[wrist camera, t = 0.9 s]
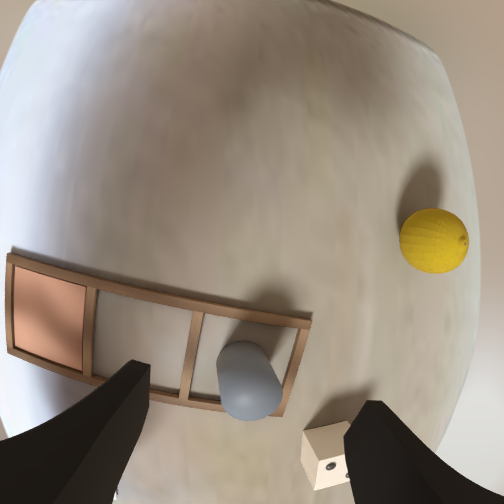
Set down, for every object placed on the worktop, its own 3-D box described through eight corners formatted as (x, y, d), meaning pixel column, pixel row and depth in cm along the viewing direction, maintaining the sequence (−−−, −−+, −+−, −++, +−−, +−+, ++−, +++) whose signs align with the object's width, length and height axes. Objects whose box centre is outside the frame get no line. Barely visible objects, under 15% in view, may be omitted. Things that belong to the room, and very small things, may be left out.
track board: (280, 413, 26) (282, 416, 25) (10, 350, 21) (7, 352, 20) (309, 319, 25) (312, 321, 25) (10, 252, 20) (6, 253, 20)
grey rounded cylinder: (260, 387, 25) (274, 422, 20) (212, 381, 24) (215, 417, 19) (272, 344, 25) (289, 374, 19) (221, 337, 24) (227, 367, 19)
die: (341, 451, 28) (359, 478, 23) (300, 461, 27) (314, 491, 22) (346, 420, 27) (367, 447, 22) (302, 430, 26) (319, 461, 21)
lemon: (428, 215, 26) (487, 215, 18) (421, 269, 27) (478, 283, 19) (387, 203, 25) (447, 199, 18) (379, 263, 26) (437, 277, 18)
